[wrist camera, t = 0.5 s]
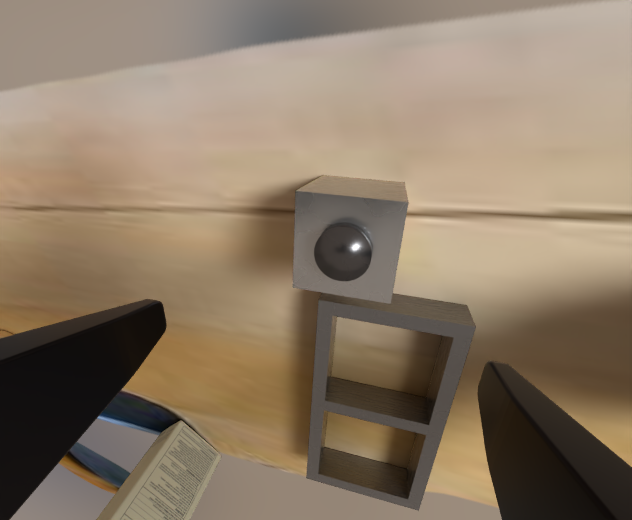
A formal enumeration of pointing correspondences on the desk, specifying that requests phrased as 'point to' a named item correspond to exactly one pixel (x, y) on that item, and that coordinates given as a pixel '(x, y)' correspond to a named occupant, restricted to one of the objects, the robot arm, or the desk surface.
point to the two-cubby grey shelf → (386, 396)
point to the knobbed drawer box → (349, 236)
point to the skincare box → (166, 478)
